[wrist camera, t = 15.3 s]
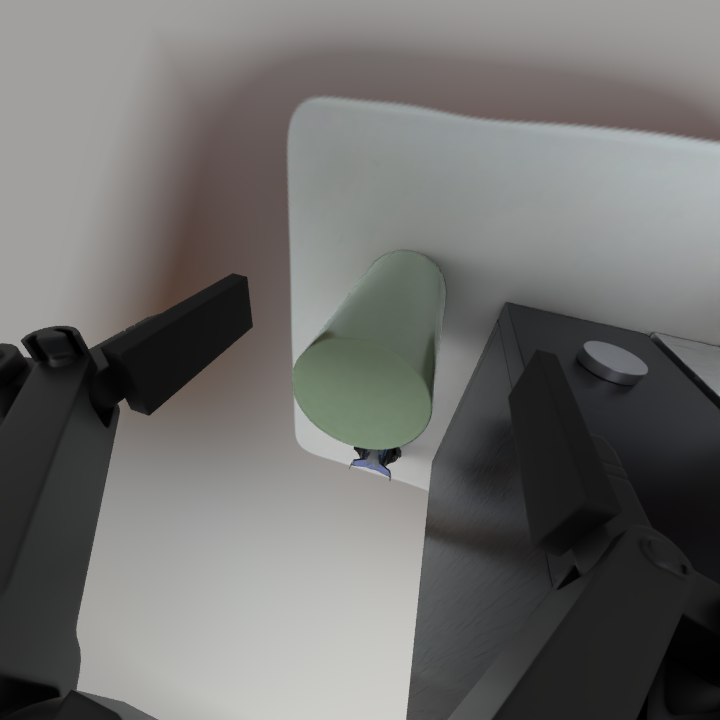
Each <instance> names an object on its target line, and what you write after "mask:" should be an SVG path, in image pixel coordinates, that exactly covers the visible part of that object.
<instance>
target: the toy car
mask: <svg viewBox="0 0 720 720" xmlns="http://www.w3.org/2000/svg"><path fill="white" fill-rule="evenodd" d="M354 450H356V451H357V452H358V454H359V456H360V459H355V460H353V462H352V463H353V464H352V463H351V465H354V466H361V467H367V468H370V469H373V470H377V471H379V472H381V473H383V474H385V475H387V476H389V477H390V480H391V473H390V470H389V469H387V468H386V467H385V466H386V465H388V464H389V463H392V462H395V461H396V460H397V459H398V456H399V458H400V457H401V450H400V448H399V447H396V448H392V449H384V450H374V449H365V448H359V447H355V446H354ZM351 465H350V467H351ZM350 467H349V468H350Z"/></svg>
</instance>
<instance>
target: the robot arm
mask: <svg viewBox="0 0 720 720" xmlns="http://www.w3.org/2000/svg"><path fill="white" fill-rule="evenodd" d="M252 327H253V324H252V316H251V307H250V299H249V289H248V281H247V277H245V276H241V275H237V274H231V275H229V276H227V277H225V278H224V279H222V280H220V281H218V282H216V283H215V284H213V285H211V286H209V287H208V288H206V289H204V290H202V291H200V292H198V293H197V294H195V295H193V296H191V297H190V298H188V299H186V300H184V301H182V302H181V303H179V304H177V305H175V306H173V307H172V308H170V309H168V310H166V311H165V312H163V313H160V314H157V315H154V316H151V317H147V318H145V319H144V320H142V321H140V322H138V323H137V324H135V326H134V325H133V326H131V327H129V328H127V329H126V331H122V332H120V333H118V334H116V335H114V336H113V337H111V338H109V339H107V340H105V341H103V342H102V343H100V344H98V345H96V346H94V347H92V348H91V349H88V347H87V346H86V344H85V342H84V340H83V338H82V336H81V334H80V332H79V331H78V330H77V329H76V328H74V327H69V326H54V327H48V328H44V329H40V330H38V331H34V332H32V333H31V334H28V335H26V336H25V337H24V338H23V339H22V340H21V342H22V343H23V345H24V346H25V348H26V349H27V351H28V352H29V354H30V355H31V357H32V358H27V357H24V356H23V355H22V354H21V352H20V351H19V349H18V348H17V347H16V346H14V345H12V344H3V343H2V344H0V720H157V719H156V718H154V717H152V716H150V715H148V714H146V713H144V712H142V711H140V710H138V709H136V708H134V707H132V706H130V705H129V704H127V703H125V702H122V701H118V700H114V699H109V698H106V697H101V696H97V695H93V694H89V693H85V692H81V691H77V690H76V689H77V683H78V678H79V671H80V662H81V656H80V647H79V643H78V639H77V635H76V626H77V620H78V615H79V610H80V605H81V600H82V595H83V590H84V585H85V580H86V575H87V571H88V565H89V561H90V556H91V551H92V546H93V541H94V536H95V531H96V526H97V521H98V516H99V512H100V507H101V502H102V497H103V492H104V487H105V482H106V477H107V472H108V468H109V462H110V458H111V453H112V448H113V443H114V438H115V433H116V428H117V423H118V419H119V414H120V410H119V409H120V408H119V406H118V404H117V403H119V402H120V401H121V400H123V399H124V398H126V400H127V402H128V404H129V406H130V408H131V409H132V410H134V411H137V412H140V413H143V414H146V415H151V414H152V413H153V412H154V411H155V410H156V409H158V408H159V407H160V406H161V405H162V404H163V403H164V402H166V401H167V400H168V399H169V398H170V397H171V396H172V395H174V394H175V393H176V392H177V391H178V390H180V389H181V388H182V387H183V386H184V385H185V384H187V383H188V382H189V381H190V380H191V379H192V378H194V377H195V376H196V375H197V374H198V373H199V372H201V371H202V370H203V369H204V368H205V367H206V366H207V365H209V364H210V363H211V362H212V361H213V360H215V358H217V357H218V356H219V355H220V354H221V353H223V352H224V351H225V350H226V349H227V348H229V347H230V346H231V345H232V344H233V343H234V342H235V341H237V340H238V339H239V338H240V337H241V336H242V335H243V334H245V333H246V332H247V331H248V330H249V329H251V328H252ZM508 401H509V407H510V413H511V420H512V426H513V432H514V438H515V445H516V451H517V457H518V463H519V470H520V476H521V482H522V488H523V495H524V501H525V507H526V513H527V520H528V526H529V532H530V538H531V545H532V548H535V549H538V550H541V551H544V552H547V553H550V554H553V555H555V556H558V557H560V556H562V555H563V554H564V553H566V552H567V551H568V550H570V549H571V548H572V552H573V556H574V560H575V564H573V565H572V566H570V567H569V568H567V569H566V570H564V571H563V572H561V573H560V574H558V575H557V576H555V578H556V579H557V580H558V582H557V583H556V584H555V586H554V587H553V588H552V589H551V591H550V592H549V593H548V594H547V596H546V597H545V598H544V599H543V601H542V602H541V603H540V604H539V606H538V607H537V608H536V609H535V611H534V612H533V613H532V614H531V616H530V617H529V618H528V619H527V621H526V622H525V623H524V624H523V626H522V627H521V628H520V629H519V631H518V632H517V633H516V634H515V636H514V637H513V638H512V639H511V641H510V642H509V643H508V644H507V646H506V647H505V648H504V649H503V651H502V652H501V653H500V654H499V656H498V657H497V658H496V659H495V661H494V662H493V663H492V664H491V666H490V667H489V668H488V670H487V671H486V672H485V673H484V675H483V676H482V677H481V678H480V680H479V681H478V682H477V683H476V685H475V686H474V687H473V688H472V690H471V691H470V692H469V693H468V695H467V696H466V697H465V698H464V700H463V701H462V702H461V703H460V705H459V706H458V707H457V708H456V710H455V711H454V712H453V713H452V715H451V716H450V717H449V718H448V720H636V719H637V717H638V715H639V712H640V710H641V708H642V706H643V703H644V701H645V699H646V696H647V694H648V708H647V720H720V585H719V584H718V583H716V582H714V581H712V580H711V579H709V578H707V577H705V576H704V575H702V574H700V573H699V572H697V571H695V570H694V569H693V567H692V565H691V563H690V561H689V560H688V559H687V557H686V556H685V555H684V553H683V552H682V551H681V549H679V548H678V547H677V546H676V545H675V544H674V543H673V542H672V541H671V540H670V539H669V538H667V537H666V536H664V535H663V534H661V533H660V532H658V531H657V530H655V529H653V528H652V526H651V524H650V522H649V520H648V518H647V516H646V514H645V512H644V510H643V508H642V506H641V504H640V501H639V499H638V497H637V495H636V493H635V491H634V489H633V487H632V485H631V483H630V481H628V476H627V474H626V472H625V470H624V469H623V468H622V464H621V462H620V460H619V458H618V456H617V454H616V451H615V450H614V449H613V448H612V447H611V446H610V445H609V443H608V442H607V441H606V440H605V439H604V438H603V437H602V436H599V435H595V434H592V433H589V431H588V428H587V426H586V423H585V421H584V419H583V416H582V414H581V412H580V409H579V407H578V404H577V402H576V400H575V397H574V395H573V393H572V390H571V388H570V385H569V383H568V381H567V378H566V376H565V374H564V371H563V369H562V366H561V364H560V362H559V359H558V357H557V355H556V354H554V353H550V352H546V351H542V350H538V349H536V351H535V353H534V354H533V356H532V358H531V359H530V361H529V363H528V364H527V366H526V368H525V369H524V371H523V373H522V374H521V376H520V378H519V379H518V381H517V383H516V384H515V386H514V388H513V389H512V391H511V393H510V394H509V396H508Z"/></svg>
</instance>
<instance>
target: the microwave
mask: <svg viewBox="0 0 720 720" xmlns="http://www.w3.org/2000/svg"><path fill="white" fill-rule="evenodd" d="M536 349H538V350H542V351H546V352H550V353H554V354H556V355H557V357H558V359H559V362H560V364H561V366H562V369H563V371H564V374H565V376H566V378H567V381H568V383H569V385H570V388H571V390H572V393H573V395H574V397H575V400H576V402H577V404H578V407H579V409H580V412H581V414H582V416H583V419H584V421H585V423H586V426H587V428H588V431H589V433H592V434H595V435H599V436H602V437H603V438H604V439H605V440H606V441H607V442H608V443H609V445H610V446H611V447H612V448H613V449H614V450H615V451H616V454H617V456H618V458H619V460H620V462H621V464H622V468H623V469H624V470H625V472H626V474H627V476H628V481H630V483H631V485H632V487H633V489H634V491H635V493H636V495H637V497H638V499H639V501H640V504H641V506H642V508H643V510H644V512H645V514H646V516H647V518H648V520H649V522H650V524H651V526H652V528H653V529H655V530H657V531H658V532H660V533H661V534H663V535H664V536H666V537H667V538H669V539H670V540H671V541H672V542H673V543H674V544H675V545H676V546H677V547H678V548H679V549H681V551H682V552H683V553H684V555H685V556H686V557H687V559H688V560H689V561H690V563H691V565H692V567H693V569H694V570H695V571H697V572H699V573H700V574H702V575H704V576H705V577H707V578H709V579H711V580H712V581H714V582H716V583H718V584H719V585H720V410H719V409H718V408H717V407H716V406H715V405H714V403H713V402H712V401H711V400H710V399H709V398H708V397H707V396H706V395H705V394H704V393H703V392H702V391H701V390H700V389H699V388H698V387H697V386H696V385H695V384H694V383H693V382H692V381H691V380H690V379H689V378H688V377H687V376H686V375H685V374H684V373H683V372H682V371H681V370H680V369H679V368H678V367H677V366H676V365H675V364H674V363H673V362H672V361H671V360H670V359H669V358H668V357H667V356H666V355H665V354H664V353H663V352H662V351H661V350H660V349H659V348H658V347H657V346H656V345H655V344H654V343H653V342H652V341H651V339H650V338H649V337H648V336H647V335H646V334H643V333H638V332H634V331H629V330H625V329H621V328H616V327H612V326H608V325H603V324H599V323H594V322H590V321H586V320H581V319H577V318H573V317H568V316H564V315H559V314H555V313H551V312H546V311H542V310H538V309H533V308H529V307H524V306H520V305H516V304H511V303H506V304H505V306H504V308H503V311H502V313H501V315H500V317H499V319H498V320H497V322H496V324H495V326H494V329H493V331H492V333H491V335H490V337H489V340H488V342H487V344H486V346H485V348H484V350H483V353H482V355H481V357H480V359H479V361H478V363H477V366H476V368H475V370H474V372H473V374H472V376H471V379H470V381H469V383H468V385H467V387H466V390H465V392H464V394H463V396H462V398H461V400H460V403H459V405H458V407H457V409H456V411H455V413H454V416H453V418H452V420H451V422H450V424H449V427H448V429H447V431H446V433H445V435H444V437H443V440H442V442H441V444H440V446H439V448H438V450H437V453H436V455H435V457H434V459H433V461H432V468H431V477H430V487H429V497H428V507H427V508H428V509H427V518H426V527H425V538H424V548H423V558H422V568H421V578H420V588H419V598H418V608H417V619H416V628H415V638H414V648H413V658H412V668H411V679H410V689H409V698H408V708H407V718H406V719H407V720H448V718H449V717H450V716H451V715H452V713H453V712H454V711H455V710H456V708H457V707H458V706H459V705H460V703H461V702H462V701H463V700H464V698H465V697H466V696H467V695H468V693H469V692H470V691H471V690H472V688H473V687H474V686H475V685H476V683H477V682H478V681H479V680H480V678H481V677H482V676H483V675H484V673H485V672H486V671H487V670H488V668H489V667H490V666H491V664H492V663H493V662H494V661H495V659H496V658H497V657H498V656H499V654H500V653H501V652H502V651H503V649H504V648H505V647H506V646H507V644H508V643H509V642H510V641H511V639H512V638H513V637H514V636H515V634H516V633H517V632H518V631H519V629H520V628H521V627H522V626H523V624H524V623H525V622H526V621H527V619H528V618H529V617H530V616H531V614H532V613H533V612H534V611H535V609H536V608H537V607H538V606H539V604H540V603H541V602H542V601H543V599H544V598H545V597H546V596H547V594H548V593H549V592H550V591H551V589H552V588H553V587H554V586H555V584H556V583H557V582H558V580H557V579H556V578H555V576H557V575H558V574H560V573H561V572H563V571H564V570H566V569H567V568H569V567H570V566H572V565H573V564H575V560H574V556H573V552H572V548H571V549H570V550H568V551H567V552H566V553H564V554H563V555H562V556H560V557H558V556H555V555H553V554H550V553H547V552H544V551H541V550H538V549H535V548H532V545H531V538H530V532H529V526H528V520H527V513H526V507H525V501H524V495H523V488H522V482H521V476H520V470H519V463H518V457H517V451H516V445H515V438H514V432H513V426H512V420H511V413H510V407H509V401H508V396H509V394H510V393H511V391H512V389H513V388H514V386H515V384H516V383H517V381H518V379H519V378H520V376H521V374H522V373H523V371H524V369H525V368H526V366H527V364H528V363H529V361H530V359H531V358H532V356H533V354H534V353H535V351H536ZM647 708H648V694H647V696H646V699H645V701H644V703H643V706H642V708H641V710H640V712H639V715H638V717H637V719H636V720H647Z"/></svg>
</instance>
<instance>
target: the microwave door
mask: <svg viewBox="0 0 720 720" xmlns="http://www.w3.org/2000/svg"><path fill="white" fill-rule="evenodd" d="M650 339H651V341H652V342H653V343H654V344H655V345H656V346H657V347H658V348H659V349H660V350H661V351H662V352H663V353H664V354H665V355H666V356H667V357H668V358H669V359H670V360H671V361H672V362H673V363H674V364H675V365H676V366H677V367H678V368H679V369H680V370H681V371H682V372H683V373H684V374H685V375H686V376H687V377H688V378H689V379H690V380H691V381H692V382H693V383H694V384H695V385H696V386H697V387H698V388H699V389H700V390H701V391H702V392H703V393H704V394H705V395H706V396H707V397H708V398H709V399H710V400H711V401H712V402H713V403H714V405H715V406H716V407H717V408H718V409H719V410H720V347H716V346H712V345H707V344H703V343H698V342H694V341H689V340H685V339H681V338H676V337H672V336H667V335H663V334H659V333H653V334H652V335H651V337H650Z"/></svg>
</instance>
